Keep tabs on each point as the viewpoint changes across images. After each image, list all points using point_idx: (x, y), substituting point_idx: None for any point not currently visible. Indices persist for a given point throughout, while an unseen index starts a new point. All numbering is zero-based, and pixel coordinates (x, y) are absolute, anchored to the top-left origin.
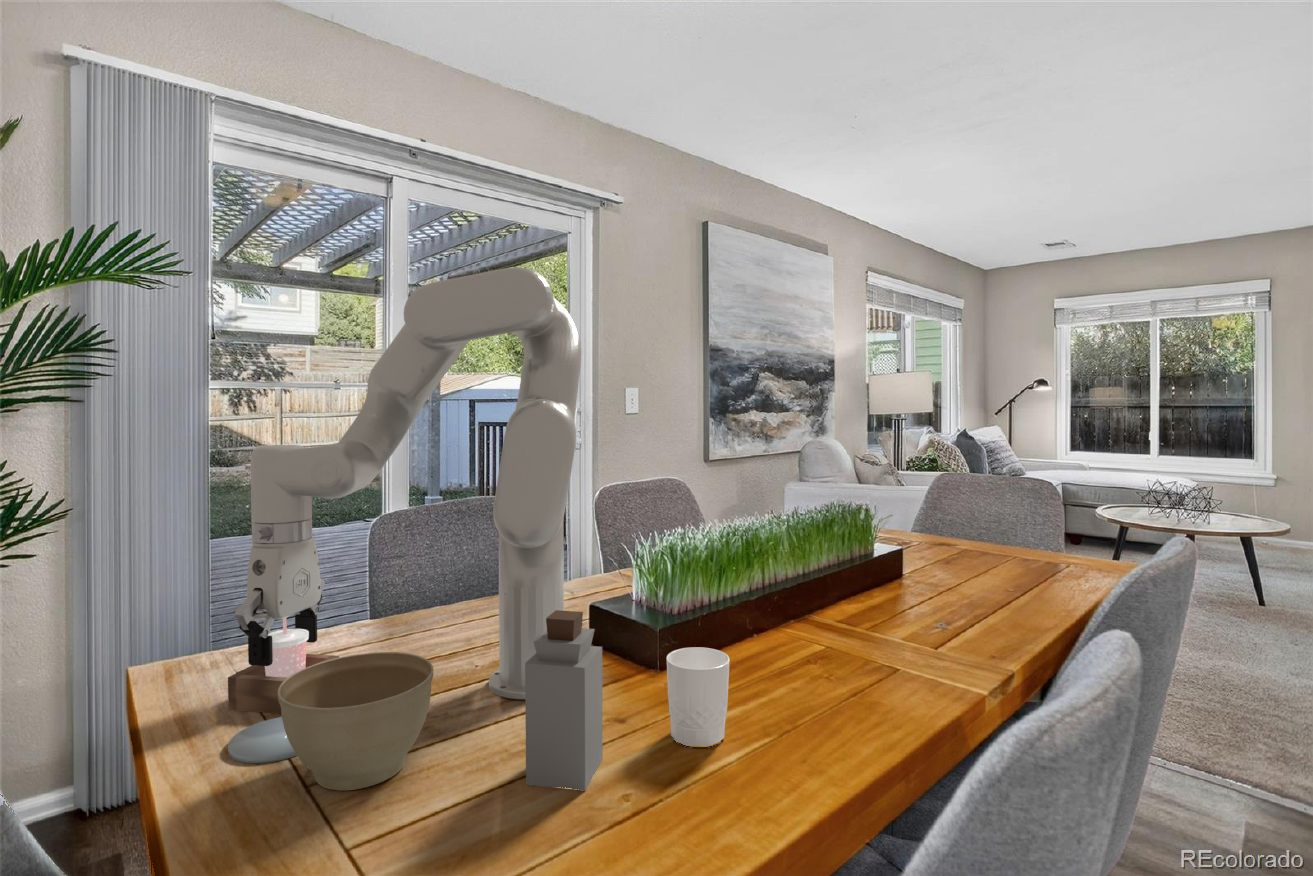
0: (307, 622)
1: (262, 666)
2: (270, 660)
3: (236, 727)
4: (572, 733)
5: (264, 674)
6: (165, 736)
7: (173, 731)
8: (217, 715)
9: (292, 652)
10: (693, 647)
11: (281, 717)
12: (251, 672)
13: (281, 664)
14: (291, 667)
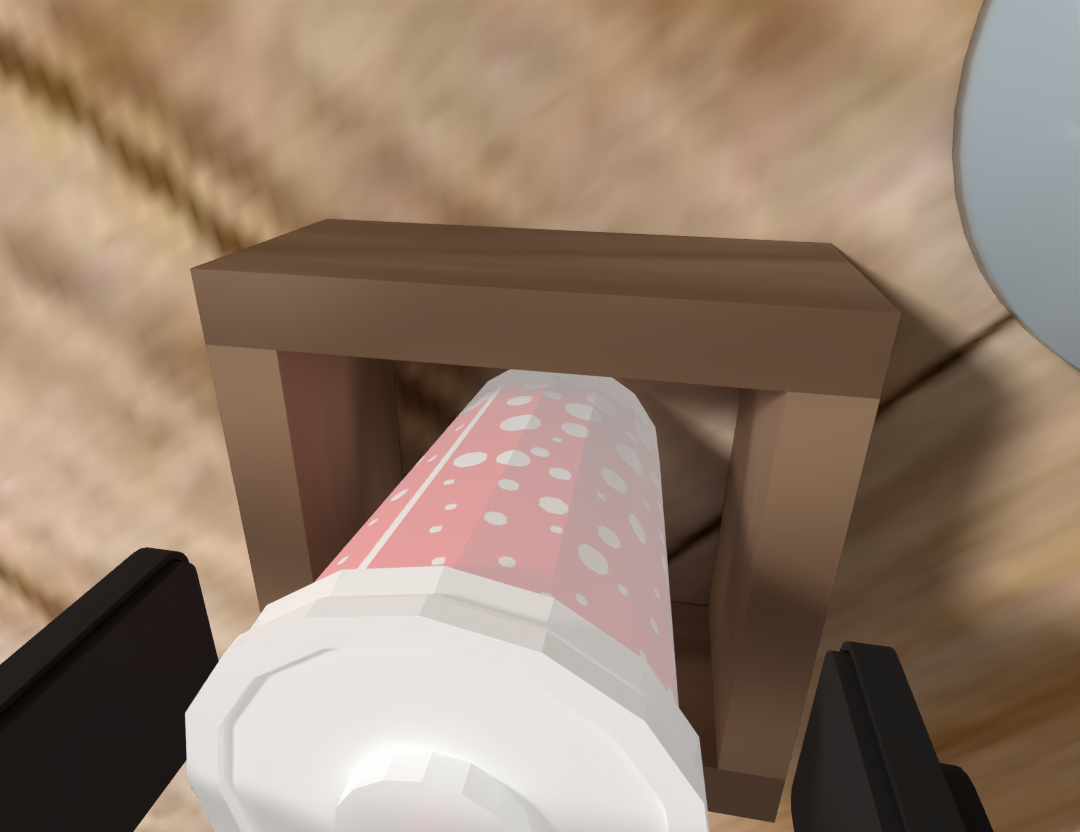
0: (43, 777)
1: None
2: (891, 679)
3: (1005, 503)
4: None
5: None
6: (1077, 762)
7: (1014, 756)
8: (818, 667)
9: (595, 584)
10: None
11: (1003, 264)
12: None
13: (660, 588)
14: (611, 503)
